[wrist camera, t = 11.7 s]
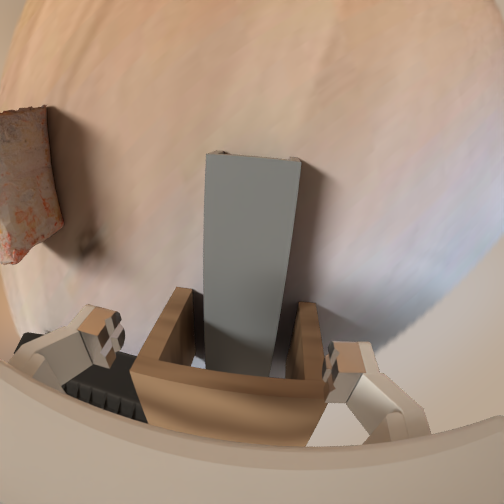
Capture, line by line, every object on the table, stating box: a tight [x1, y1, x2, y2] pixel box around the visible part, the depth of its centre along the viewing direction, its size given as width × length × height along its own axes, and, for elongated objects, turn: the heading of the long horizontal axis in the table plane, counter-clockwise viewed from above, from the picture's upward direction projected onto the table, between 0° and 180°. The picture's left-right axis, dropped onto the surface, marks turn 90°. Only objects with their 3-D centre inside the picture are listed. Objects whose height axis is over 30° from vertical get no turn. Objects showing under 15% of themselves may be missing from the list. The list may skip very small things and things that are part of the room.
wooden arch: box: [130, 287, 328, 447], centre depth 22 cm, size 8×12×10 cm, turn 85°
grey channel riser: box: [203, 151, 301, 377], centre depth 23 cm, size 20×6×3 cm, turn 176°
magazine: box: [14, 332, 148, 424], centre depth 26 cm, size 17×3×30 cm
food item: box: [0, 105, 64, 265], centre depth 17 cm, size 14×8×10 cm, turn 4°
